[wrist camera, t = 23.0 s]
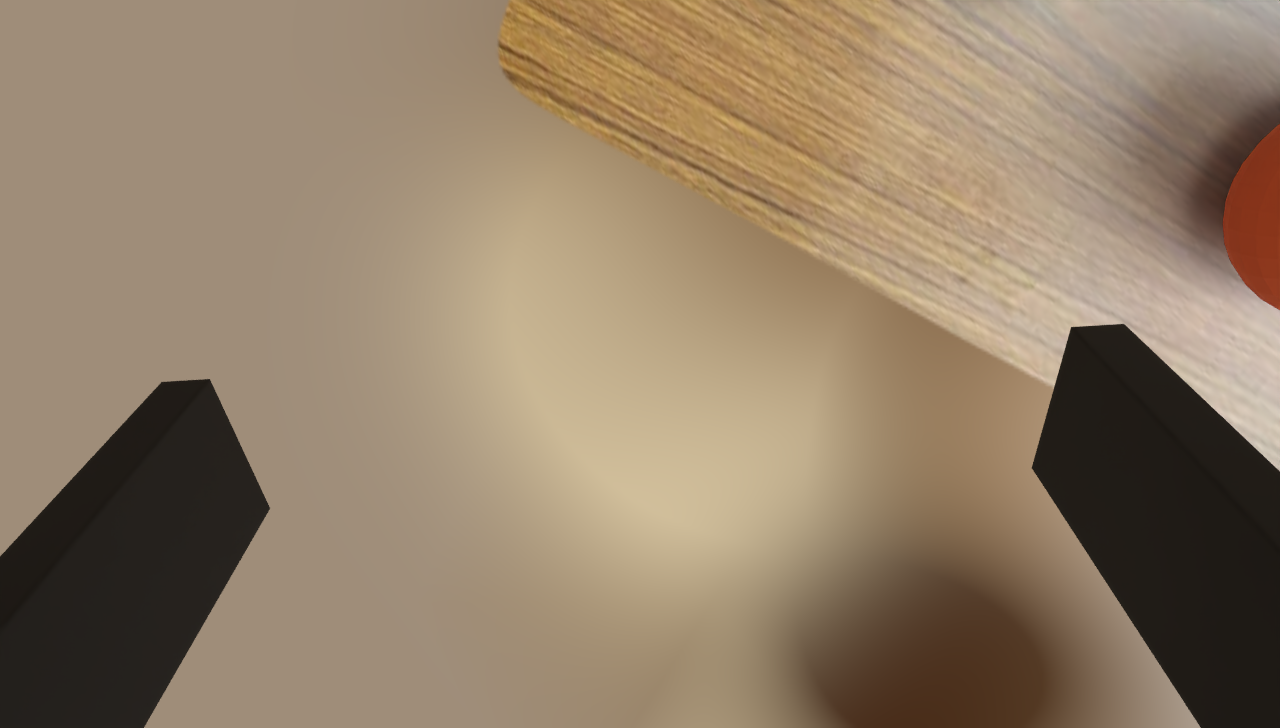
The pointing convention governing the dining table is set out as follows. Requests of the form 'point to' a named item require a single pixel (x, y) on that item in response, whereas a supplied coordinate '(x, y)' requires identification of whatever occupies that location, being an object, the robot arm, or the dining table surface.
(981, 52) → the dining table surface
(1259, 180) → the tomato
